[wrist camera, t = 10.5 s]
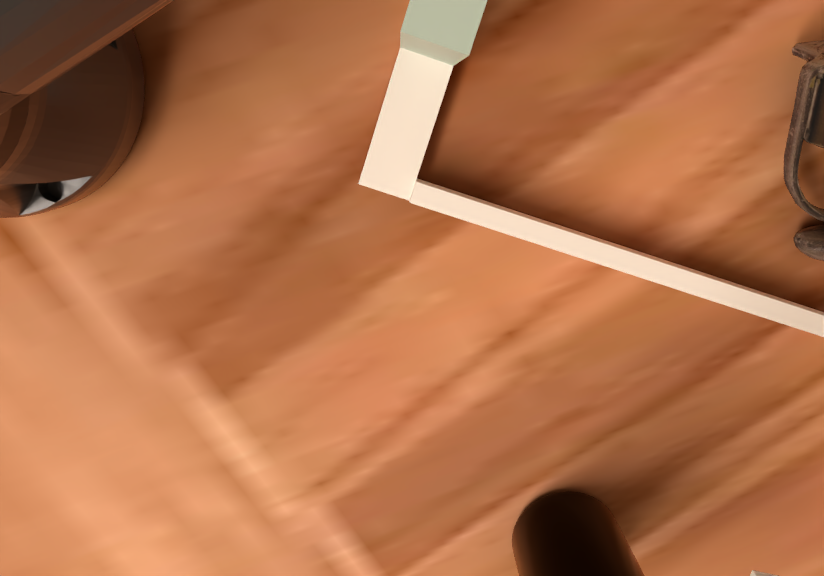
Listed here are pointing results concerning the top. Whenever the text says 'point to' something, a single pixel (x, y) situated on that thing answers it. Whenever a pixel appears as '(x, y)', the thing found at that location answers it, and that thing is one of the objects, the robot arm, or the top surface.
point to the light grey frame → (397, 175)
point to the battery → (571, 539)
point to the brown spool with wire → (807, 139)
